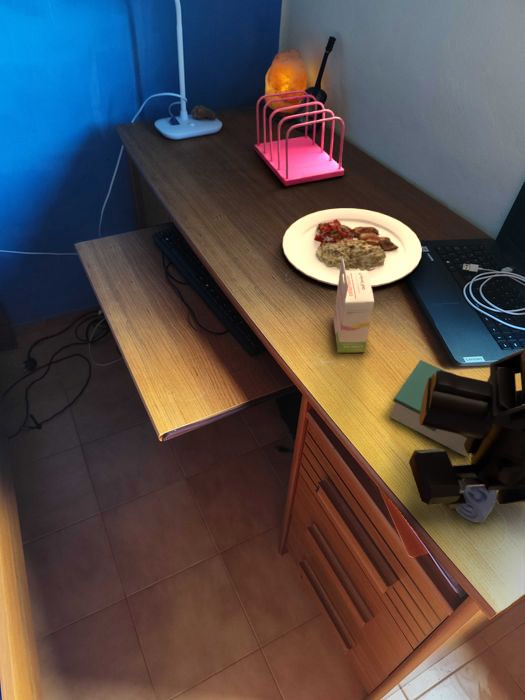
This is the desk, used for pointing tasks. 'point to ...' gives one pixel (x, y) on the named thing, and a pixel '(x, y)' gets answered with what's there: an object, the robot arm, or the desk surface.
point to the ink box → (352, 310)
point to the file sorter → (299, 146)
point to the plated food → (352, 245)
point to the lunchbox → (410, 408)
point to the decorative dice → (477, 503)
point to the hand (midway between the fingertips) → (472, 503)
